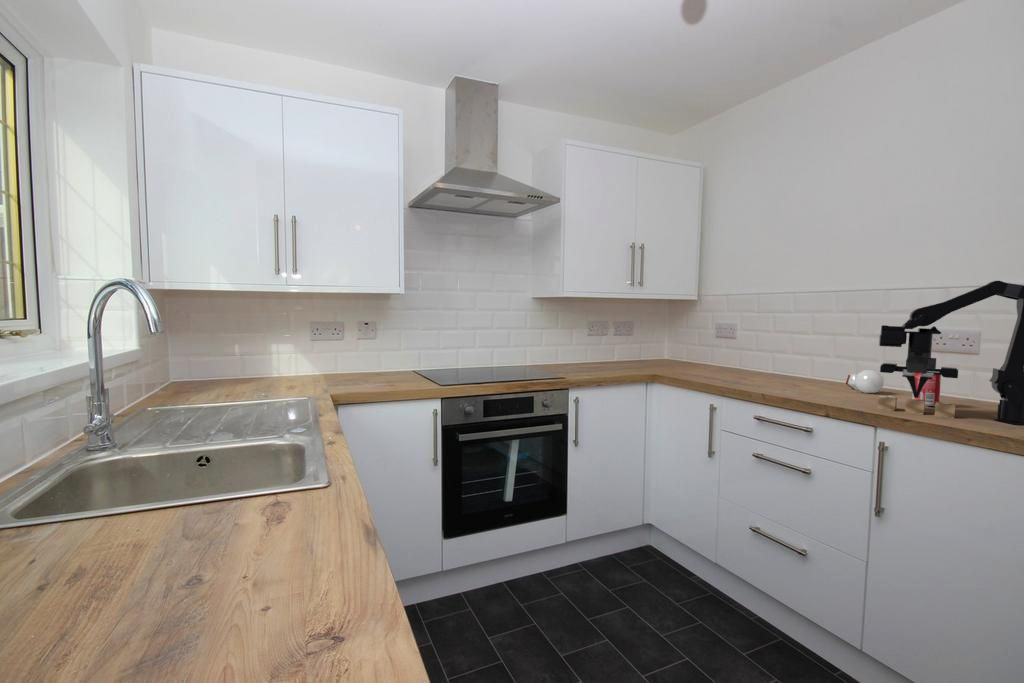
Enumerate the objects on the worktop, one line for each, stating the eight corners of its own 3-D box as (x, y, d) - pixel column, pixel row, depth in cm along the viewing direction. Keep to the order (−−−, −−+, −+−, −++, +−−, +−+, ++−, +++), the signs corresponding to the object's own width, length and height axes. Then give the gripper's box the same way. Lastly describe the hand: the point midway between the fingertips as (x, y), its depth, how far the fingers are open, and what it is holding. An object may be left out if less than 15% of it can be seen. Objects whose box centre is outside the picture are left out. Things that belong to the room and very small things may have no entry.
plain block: (924, 413, 157) (925, 400, 157) (923, 415, 153) (924, 402, 153) (906, 410, 160) (907, 398, 160) (905, 412, 156) (905, 400, 156)
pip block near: (954, 416, 152) (955, 402, 152) (954, 418, 149) (955, 404, 148) (935, 414, 155) (936, 400, 155) (934, 416, 152) (935, 402, 151)
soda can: (944, 408, 166) (947, 369, 165) (919, 406, 167) (922, 368, 166) (930, 404, 173) (933, 367, 172) (907, 403, 174) (909, 366, 173)
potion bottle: (874, 399, 191) (850, 397, 206) (895, 384, 191) (870, 383, 206) (859, 378, 192) (836, 378, 207) (880, 364, 191) (856, 365, 206)
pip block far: (896, 409, 161) (897, 396, 161) (894, 411, 158) (895, 398, 158) (879, 407, 164) (880, 394, 164) (877, 409, 161) (878, 396, 161)
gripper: (879, 347, 156) (876, 396, 157) (959, 351, 143) (955, 405, 144) (883, 345, 164) (880, 392, 165) (959, 349, 151) (955, 400, 152)
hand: (916, 397), depth 156 cm, fingers closed
